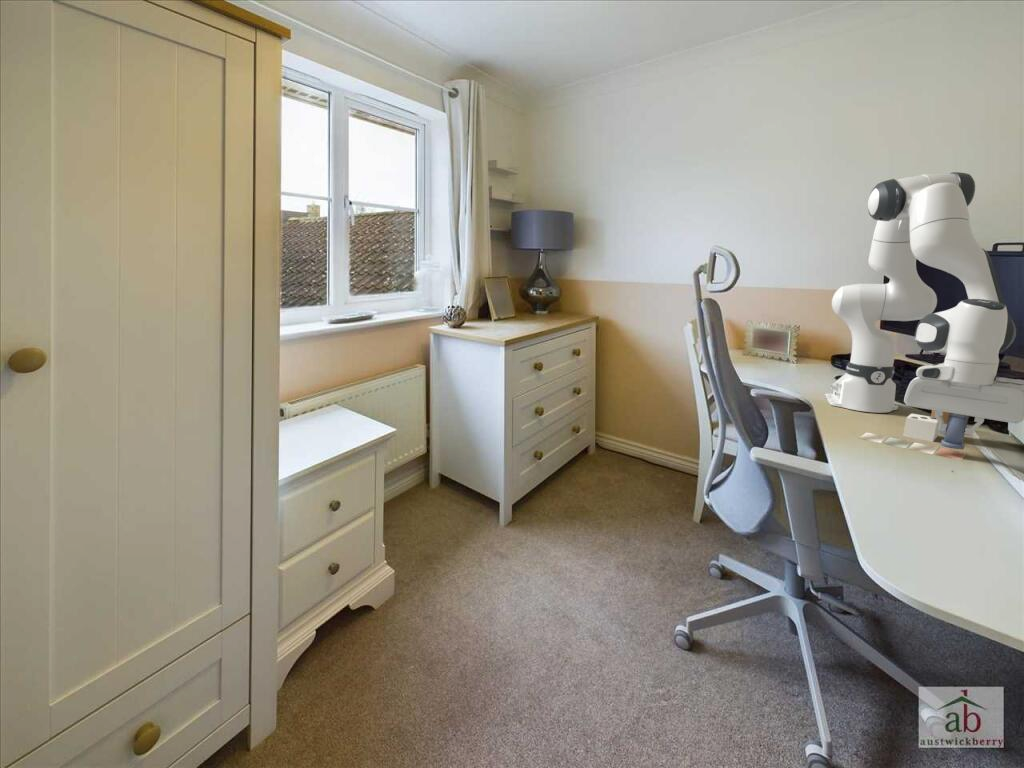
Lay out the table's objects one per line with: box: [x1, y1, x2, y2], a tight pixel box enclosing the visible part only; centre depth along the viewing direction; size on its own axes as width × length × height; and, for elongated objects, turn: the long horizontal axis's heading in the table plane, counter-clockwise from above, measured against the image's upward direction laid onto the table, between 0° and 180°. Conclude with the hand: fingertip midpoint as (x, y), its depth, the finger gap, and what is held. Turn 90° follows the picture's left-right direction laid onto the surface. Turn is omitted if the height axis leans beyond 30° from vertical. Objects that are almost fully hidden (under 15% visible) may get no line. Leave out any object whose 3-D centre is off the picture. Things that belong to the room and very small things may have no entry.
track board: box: [858, 432, 967, 461], centre depth 118 cm, size 22×8×1 cm, turn 41°
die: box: [902, 413, 939, 442], centre depth 125 cm, size 6×6×6 cm
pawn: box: [940, 413, 969, 450], centre depth 111 cm, size 4×4×9 cm
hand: (955, 432), depth 111 cm, fingers closed on pawn, 3 cm apart
